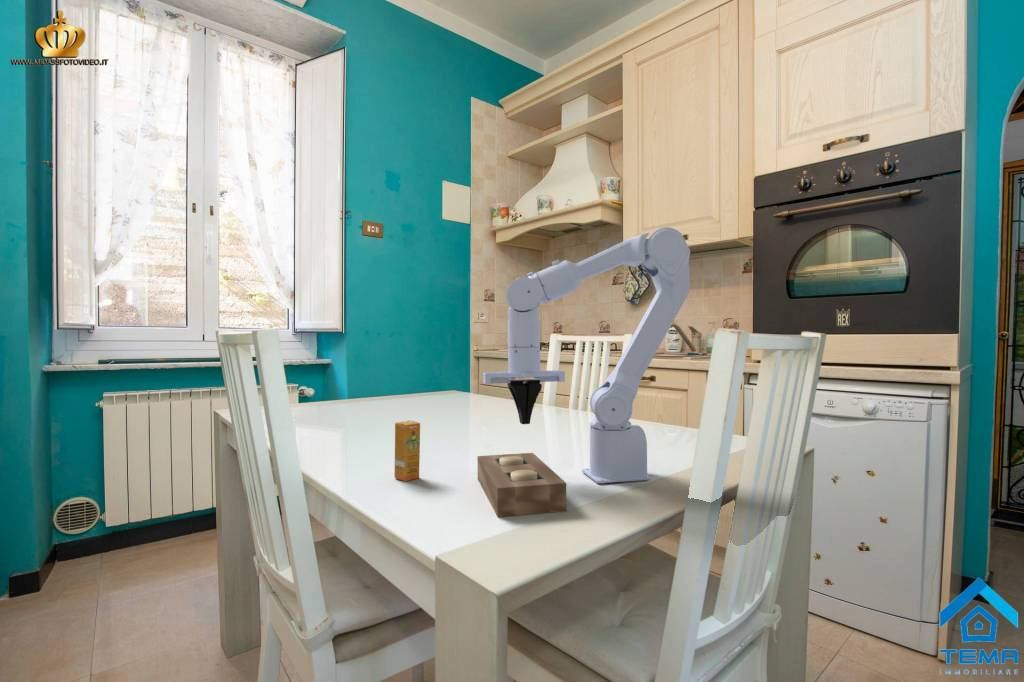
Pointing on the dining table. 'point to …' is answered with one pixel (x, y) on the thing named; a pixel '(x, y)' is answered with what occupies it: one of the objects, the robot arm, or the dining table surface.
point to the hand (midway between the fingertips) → (524, 423)
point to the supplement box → (407, 450)
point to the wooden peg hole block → (521, 486)
